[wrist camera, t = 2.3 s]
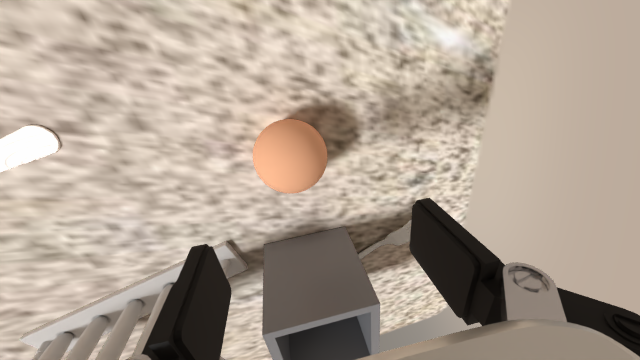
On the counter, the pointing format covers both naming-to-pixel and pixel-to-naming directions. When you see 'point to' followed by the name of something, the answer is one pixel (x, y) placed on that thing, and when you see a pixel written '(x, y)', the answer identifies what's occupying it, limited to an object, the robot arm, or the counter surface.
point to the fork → (391, 239)
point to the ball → (290, 156)
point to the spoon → (27, 146)
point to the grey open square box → (318, 299)
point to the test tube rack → (116, 315)
